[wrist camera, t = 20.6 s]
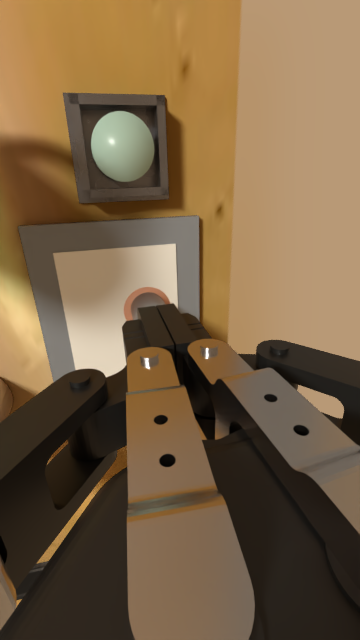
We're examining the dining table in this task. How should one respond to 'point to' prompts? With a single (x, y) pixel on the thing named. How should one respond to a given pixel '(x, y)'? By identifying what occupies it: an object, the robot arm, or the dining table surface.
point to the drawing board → (106, 282)
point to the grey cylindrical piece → (145, 302)
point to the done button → (122, 146)
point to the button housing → (81, 123)
